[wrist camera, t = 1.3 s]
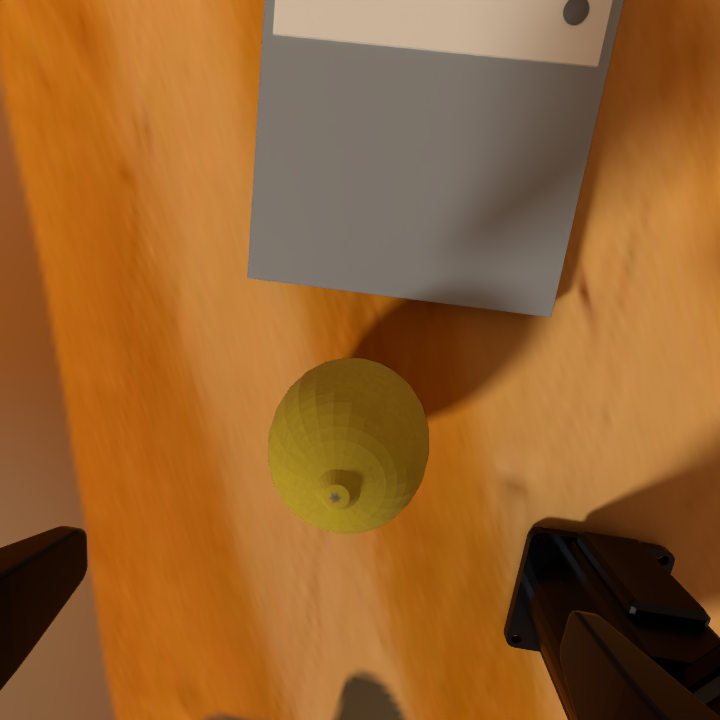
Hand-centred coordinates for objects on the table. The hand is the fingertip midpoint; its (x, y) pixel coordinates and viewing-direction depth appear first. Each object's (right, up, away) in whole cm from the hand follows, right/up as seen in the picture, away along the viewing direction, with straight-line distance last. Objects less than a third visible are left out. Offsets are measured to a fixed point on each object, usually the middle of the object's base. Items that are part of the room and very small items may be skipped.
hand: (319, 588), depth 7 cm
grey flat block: (+3, +14, +8) cm, 16 cm away
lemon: (+1, +2, +11) cm, 11 cm away
